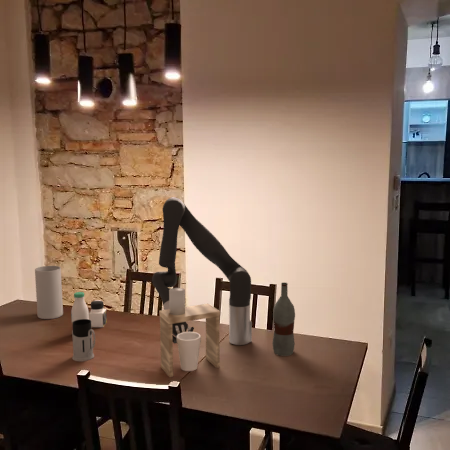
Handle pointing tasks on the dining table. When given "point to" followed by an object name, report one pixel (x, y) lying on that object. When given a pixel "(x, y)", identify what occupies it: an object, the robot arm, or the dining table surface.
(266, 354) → the dining table surface
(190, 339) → the foam cup
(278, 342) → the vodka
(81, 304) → the milk bottle
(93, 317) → the medicine bottle
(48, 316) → the cylinder vase
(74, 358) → the glass holder
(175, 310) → the beige upright cylinder
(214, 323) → the beige hollow frame
